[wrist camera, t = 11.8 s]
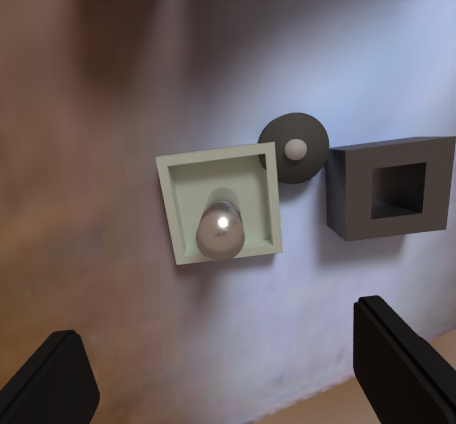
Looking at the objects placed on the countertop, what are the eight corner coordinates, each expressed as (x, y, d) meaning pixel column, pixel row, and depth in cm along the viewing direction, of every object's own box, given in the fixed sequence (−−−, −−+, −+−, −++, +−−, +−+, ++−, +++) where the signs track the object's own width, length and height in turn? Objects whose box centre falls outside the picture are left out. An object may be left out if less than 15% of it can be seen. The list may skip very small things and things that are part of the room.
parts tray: (270, 141, 28) (274, 141, 26) (278, 243, 32) (282, 252, 29) (161, 155, 29) (155, 157, 26) (180, 254, 32) (176, 265, 29)
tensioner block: (417, 136, 28) (456, 136, 24) (411, 215, 31) (446, 229, 26) (325, 148, 29) (345, 150, 24) (327, 225, 31) (345, 241, 26)
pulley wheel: (319, 110, 28) (331, 107, 24) (321, 176, 29) (332, 180, 26) (254, 119, 28) (257, 116, 25) (260, 183, 30) (264, 189, 27)
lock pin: (236, 185, 29) (242, 212, 18) (240, 216, 30) (247, 258, 19) (204, 189, 29) (191, 218, 19) (209, 219, 30) (199, 263, 20)
